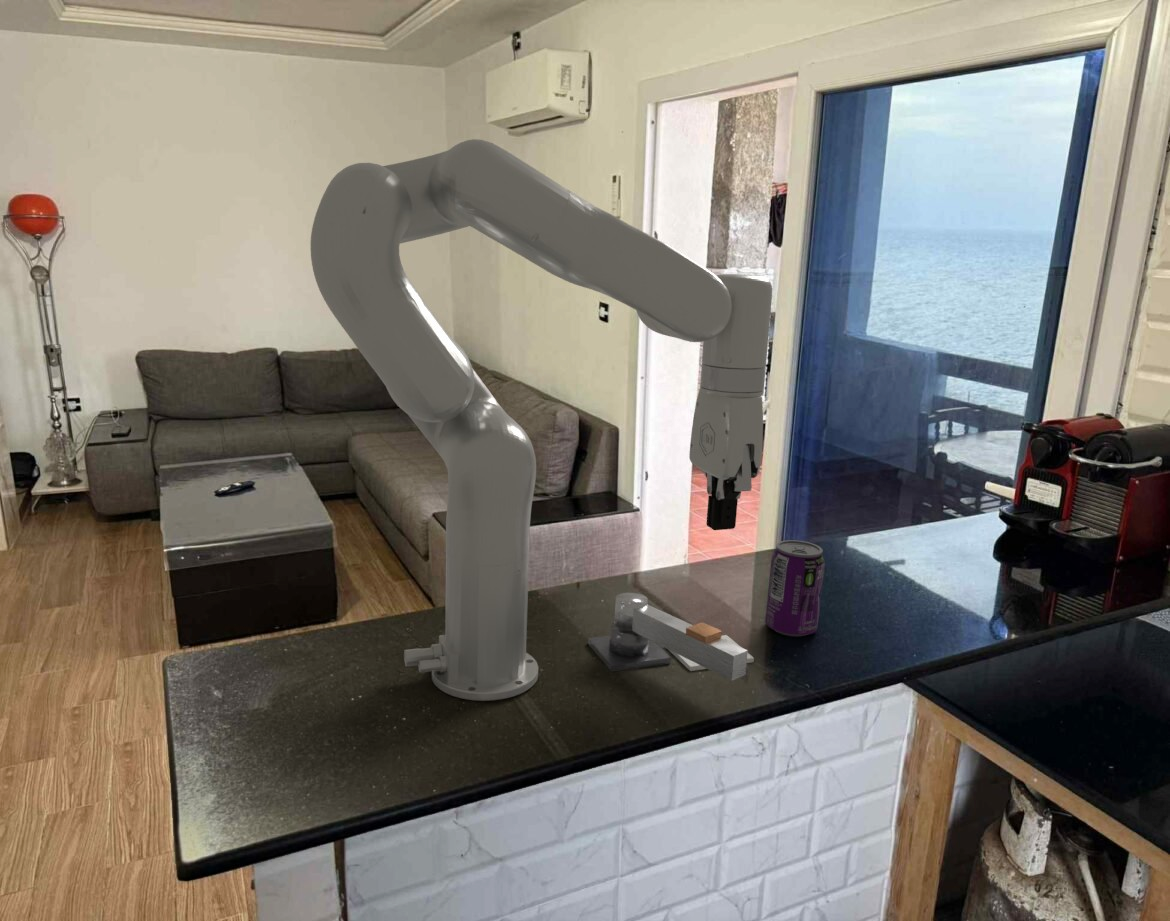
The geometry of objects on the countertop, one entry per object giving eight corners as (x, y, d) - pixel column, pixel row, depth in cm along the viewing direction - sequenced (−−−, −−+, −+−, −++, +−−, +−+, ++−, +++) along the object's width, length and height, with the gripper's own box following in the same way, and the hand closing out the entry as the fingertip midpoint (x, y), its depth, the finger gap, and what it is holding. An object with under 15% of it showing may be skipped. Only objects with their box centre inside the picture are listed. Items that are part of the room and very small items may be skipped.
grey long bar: (607, 622, 110) (609, 594, 109) (630, 615, 112) (632, 588, 111) (727, 683, 95) (729, 651, 95) (749, 672, 98) (752, 642, 97)
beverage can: (818, 643, 116) (828, 558, 113) (764, 636, 117) (773, 552, 115) (815, 622, 123) (824, 542, 120) (764, 616, 124) (772, 536, 121)
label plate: (690, 671, 106) (690, 665, 106) (665, 646, 113) (665, 641, 113) (753, 662, 110) (754, 656, 109) (725, 639, 116) (726, 633, 116)
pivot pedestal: (611, 671, 105) (612, 645, 105) (588, 643, 113) (589, 618, 112) (670, 663, 108) (672, 637, 107) (643, 636, 115) (645, 612, 115)
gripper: (676, 372, 108) (667, 512, 112) (736, 391, 95) (723, 549, 99) (729, 371, 111) (718, 508, 115) (794, 390, 97) (779, 544, 101)
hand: (720, 527), depth 107 cm, fingers closed
